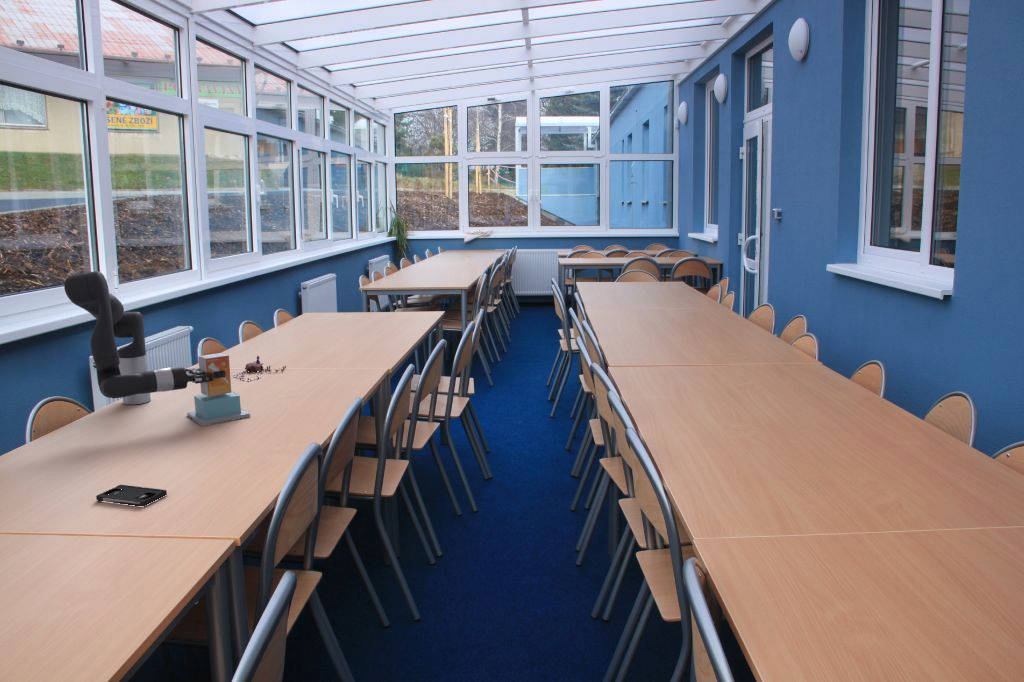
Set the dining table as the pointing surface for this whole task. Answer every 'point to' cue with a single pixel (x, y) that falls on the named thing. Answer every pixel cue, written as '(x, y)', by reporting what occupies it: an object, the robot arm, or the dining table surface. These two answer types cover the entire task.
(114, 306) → the robot arm
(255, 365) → the playset
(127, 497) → the vhs tape
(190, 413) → the tower base
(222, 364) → the small box
